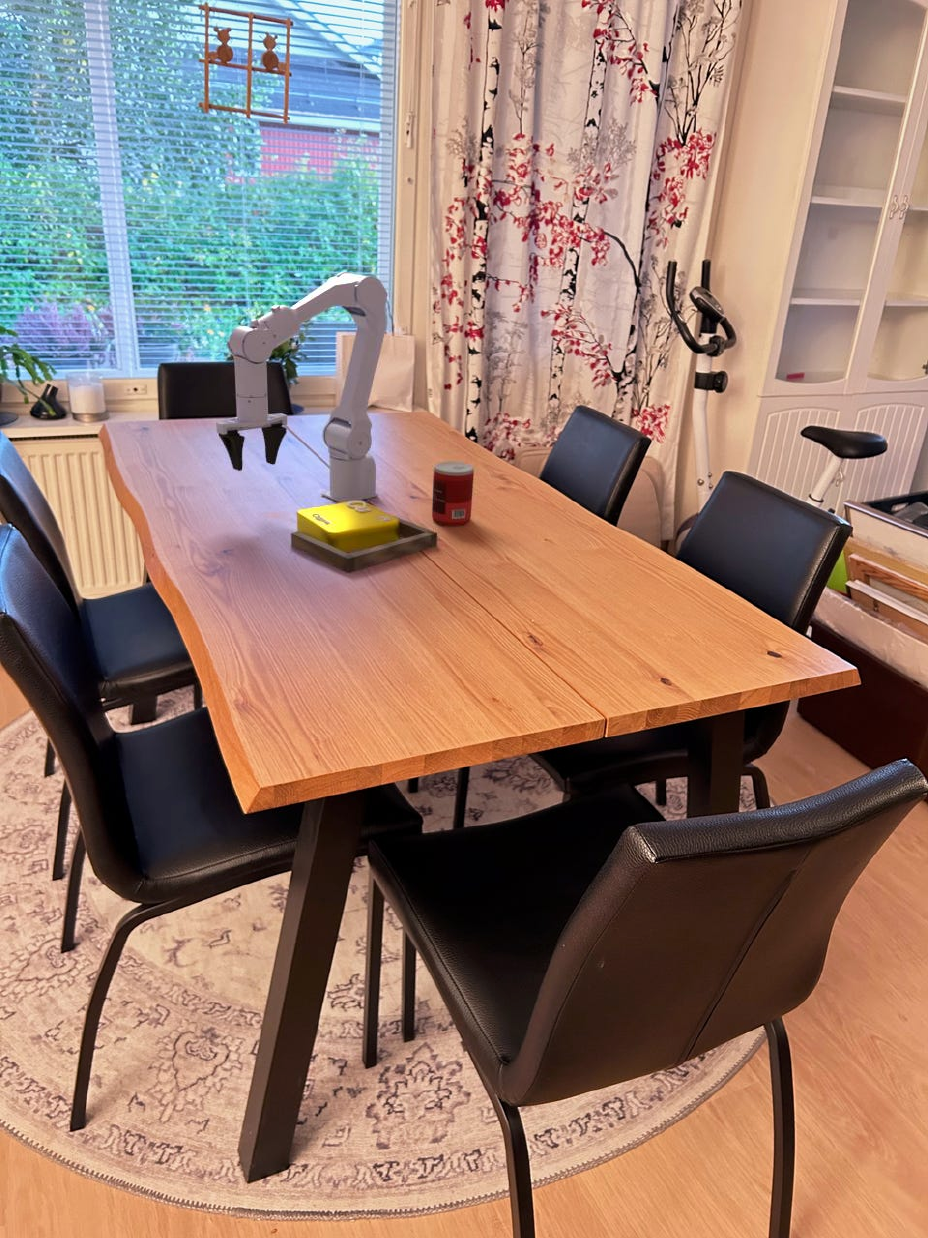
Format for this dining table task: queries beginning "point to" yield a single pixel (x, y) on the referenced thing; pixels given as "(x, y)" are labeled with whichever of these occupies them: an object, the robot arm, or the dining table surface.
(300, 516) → the element tile
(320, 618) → the dining table surface
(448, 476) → the canned food
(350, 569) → the walnut holder
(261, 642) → the dining table surface
